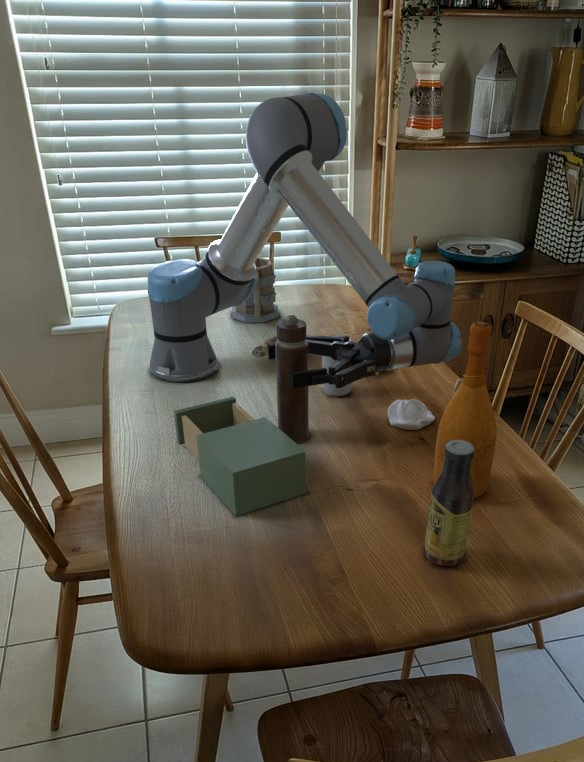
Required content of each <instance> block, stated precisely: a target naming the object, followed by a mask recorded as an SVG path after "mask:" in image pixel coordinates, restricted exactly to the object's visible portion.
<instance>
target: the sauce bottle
mask: <svg viewBox="0 0 584 762" xmlns="http://www.w3.org/2000/svg"><path fill="white" fill-rule="evenodd" d="M444 454H445V460H444V467H443V470H442V472H441V474H440V476H439V478H438V479H437V481H436V483H435V485H434V484H433V487H432V488H431V491H430V501H429V506H428V513H427V515H428V516H427V523H426V531H425V540H424V548H425V549H424V554H425V555H424V556H426V558H427V560H429V561H430V562H431V563H432V564H434V565H436V566H442V567H452V566H455V565H458V564H459V563H461V562H462V561H463V558H464V554H465V552H466V547H467V542H468V536H469V531H470V524H471V519H472V515H473V508H474V499H475V498H474V492H475V489H474V484H473V481H472V479H471V478H470V476H469V474H470V466H471V460H472V458H473V457H474V447H473V445H472V444H471V443H469V442H466V441H463V440H453V441H450V442H448V443H447V444H446V446H445V451H444Z"/></svg>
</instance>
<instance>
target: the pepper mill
mask: <svg viewBox="0 0 584 762" xmlns="http://www.w3.org/2000/svg"><path fill="white" fill-rule="evenodd" d="M275 327H276V328H275V329H276V332H275V333H276V336H277V339H278V341H277V342H276V343H275V352H276V360H275V377H276V378H275V379H276V407H277V408H276V409H277V410H276V411H277V412H276V413H277V427H278V428H279V429H280V430H281V431H282V432H283V433H285V434H286V435H287V436H288V437H289V438H290V439H291V440H293V441H294V442H295V443H296V444H299V443H302V442H304V441H306V440H308V439H309V437H310V430H309V429H310V423H309V421H310V419H309V417H310V416H309V413H310V412H309V411H310V408H309V407H310V406H309V405H310V403H309V402H310V401H309V398H310V397H309V396H310V395H309V386H306V387H300V388H292V383H291V373H293V372H300V371H307V370H309V354H308V342H307V341H305V339H306V337H307V335H308V334H307V332H308V331H307V322H306V320H304V319H303V320H302V319H301V318H298V317H297V316H296V315H294V314H292V313H291V314H288V315H286V317H285V318H282V319H280V320H278V321H277V322H276V323H275Z"/></svg>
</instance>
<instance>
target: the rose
mask: <svg viewBox="0 0 584 762" xmlns="http://www.w3.org/2000/svg"><path fill="white" fill-rule="evenodd" d="M387 417H388V422H389V424H390V426H392V427H396V428H399V429H403V430H409V431H410V430H411V431H412V430H413V431H415V430H420V429H422V428H424V427H427V426H429V425H430V424H432V423H433V422H434V421H435V419H436V417H435V415H433V413H432V412H431V410H429V409H428V407H427V405H426V404H425V403H423V402H422V401H420V400H419V399H417V398H412V399H395V400H394V401H392V402H391V403H390V404H389V406H388V408H387Z"/></svg>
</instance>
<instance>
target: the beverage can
mask: <svg viewBox="0 0 584 762" xmlns="http://www.w3.org/2000/svg"><path fill="white" fill-rule="evenodd" d="M331 336H334V337H339V336H343V335H341V334H331ZM349 342H352V339H351V338H350V337H349ZM321 358H322V359H321V368H326V369H327V373H328V367H334V366H335V365H336V364H338V363H339V362H340V361H338V360H333V359H332V358H331V357H327V356H321ZM342 380H343V378H342ZM321 388H322V391H323V392H324V393H325V394H326V395H328V396H330V397H343V396H347V395H348V393H350V392H351V391H352V383H350V384H348V385H346V386H344V387H342V388H336V387H335V384H333V385H331V384H328V383H325V384H321Z"/></svg>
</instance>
